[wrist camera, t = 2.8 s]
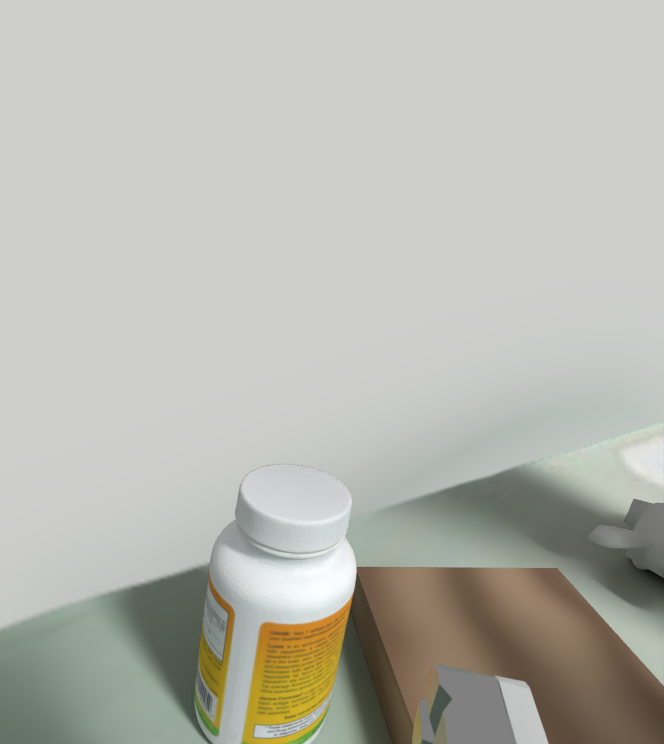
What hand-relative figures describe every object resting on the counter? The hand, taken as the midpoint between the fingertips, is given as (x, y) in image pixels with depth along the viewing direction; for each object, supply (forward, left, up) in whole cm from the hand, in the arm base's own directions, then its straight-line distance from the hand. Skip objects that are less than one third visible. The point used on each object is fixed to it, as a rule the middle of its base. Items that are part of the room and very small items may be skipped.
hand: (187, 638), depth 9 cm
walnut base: (-17, -12, -15) cm, 25 cm away
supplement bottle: (-4, -11, -15) cm, 19 cm away
